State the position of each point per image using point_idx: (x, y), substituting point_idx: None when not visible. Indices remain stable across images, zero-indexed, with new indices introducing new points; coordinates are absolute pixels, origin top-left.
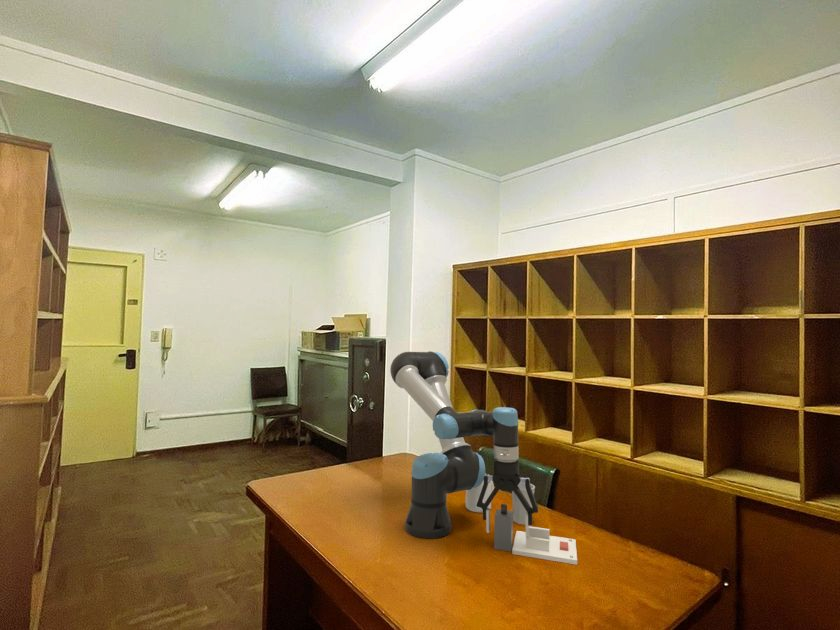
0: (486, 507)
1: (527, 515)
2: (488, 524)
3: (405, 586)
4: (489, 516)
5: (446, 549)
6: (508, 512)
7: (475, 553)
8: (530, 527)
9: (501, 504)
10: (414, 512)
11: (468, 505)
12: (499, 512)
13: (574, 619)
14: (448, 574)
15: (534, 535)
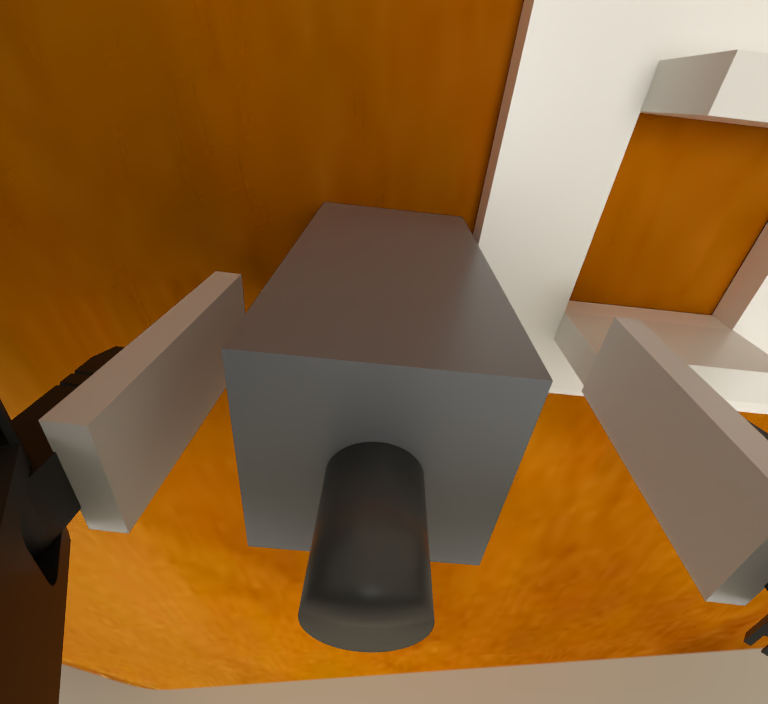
0: (55, 569)
1: (732, 593)
2: (213, 399)
3: (81, 617)
4: (173, 395)
5: (44, 393)
6: (450, 450)
7: (221, 402)
8: (748, 107)
9: (303, 612)
10: None
11: None
12: (300, 477)
13: (586, 654)
14: (174, 559)
15: (729, 121)
